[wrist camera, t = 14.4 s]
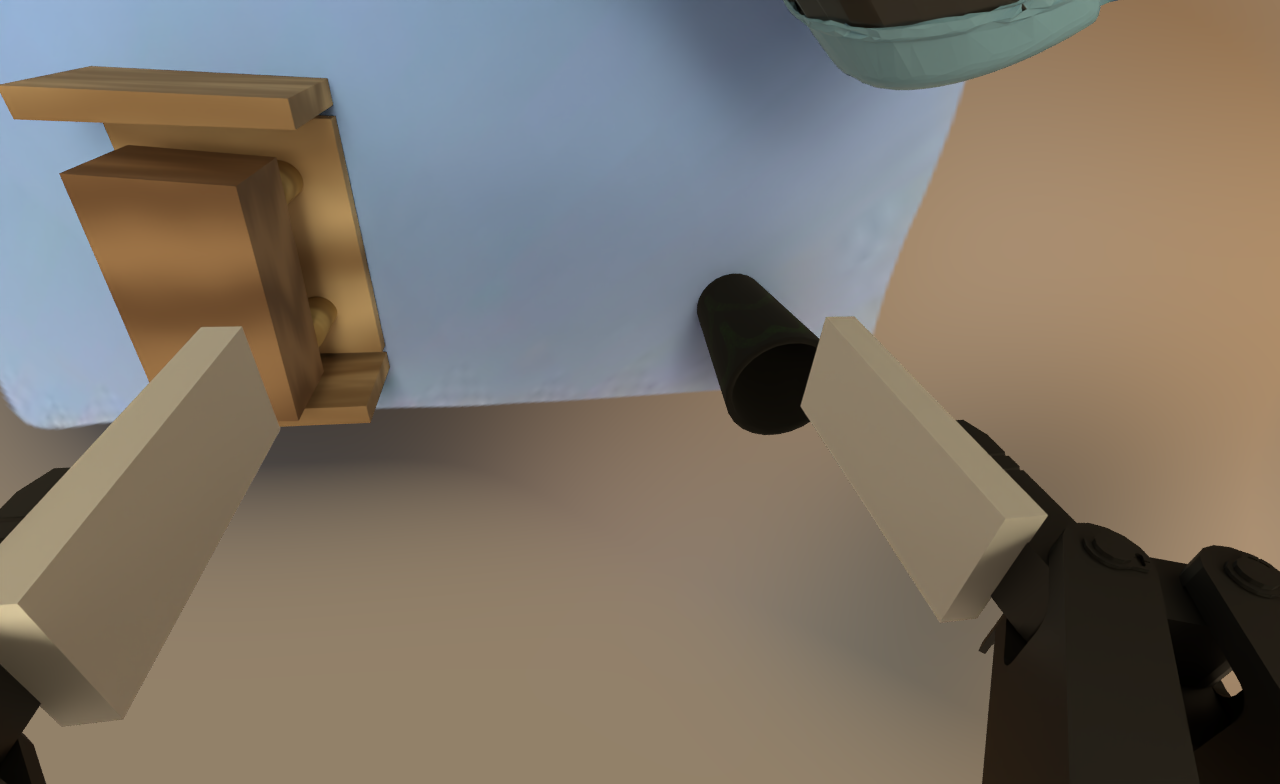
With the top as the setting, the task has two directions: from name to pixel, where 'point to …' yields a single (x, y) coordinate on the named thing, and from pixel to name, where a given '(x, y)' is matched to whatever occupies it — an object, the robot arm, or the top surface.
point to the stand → (311, 177)
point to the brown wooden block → (201, 258)
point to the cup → (757, 354)
